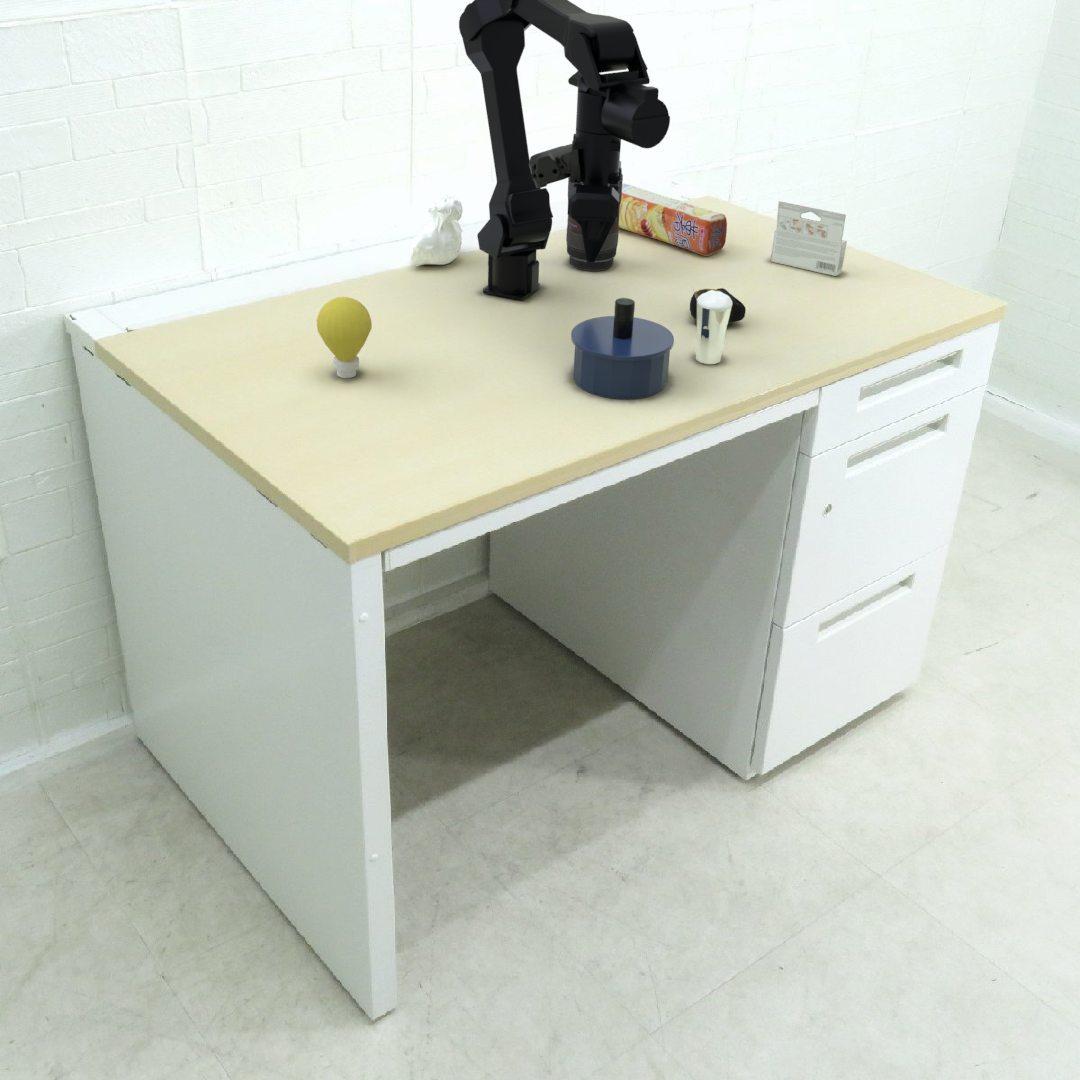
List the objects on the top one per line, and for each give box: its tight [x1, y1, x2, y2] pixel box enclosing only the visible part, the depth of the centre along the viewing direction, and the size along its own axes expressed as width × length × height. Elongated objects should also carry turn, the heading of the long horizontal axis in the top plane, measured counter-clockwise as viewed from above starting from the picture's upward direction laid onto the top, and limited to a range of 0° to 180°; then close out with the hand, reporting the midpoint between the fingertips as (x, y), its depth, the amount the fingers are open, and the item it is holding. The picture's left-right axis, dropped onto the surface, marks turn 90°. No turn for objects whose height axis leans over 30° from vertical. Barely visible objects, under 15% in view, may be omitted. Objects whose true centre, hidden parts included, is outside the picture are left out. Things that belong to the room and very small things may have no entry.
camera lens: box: [565, 167, 624, 272], centre depth 195 cm, size 8×8×15 cm
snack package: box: [619, 183, 728, 257], centre depth 208 cm, size 21×7×7 cm, turn 47°
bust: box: [409, 194, 464, 267], centre depth 195 cm, size 12×8×11 cm
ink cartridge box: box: [770, 200, 848, 277], centre depth 198 cm, size 2×11×10 cm, turn 58°
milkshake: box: [691, 286, 732, 365], centre depth 167 cm, size 4×5×10 cm
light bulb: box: [316, 296, 373, 379], centre depth 160 cm, size 7×7×10 cm
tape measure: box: [689, 287, 747, 324], centre depth 180 cm, size 7×7×4 cm
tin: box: [572, 345, 671, 400], centre depth 162 cm, size 12×12×5 cm
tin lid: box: [570, 297, 675, 361], centre depth 160 cm, size 13×13×6 cm
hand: (591, 249), depth 169 cm, fingers open, 9 cm apart
